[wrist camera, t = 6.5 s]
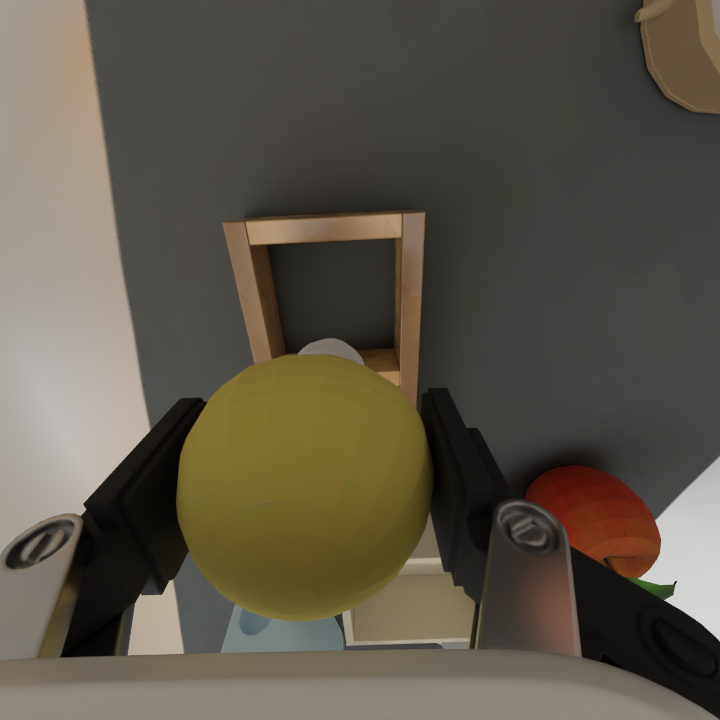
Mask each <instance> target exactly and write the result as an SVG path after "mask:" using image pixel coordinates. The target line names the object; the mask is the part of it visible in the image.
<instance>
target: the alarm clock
mask: <svg viewBox="0 0 720 720" xmlns="http://www.w3.org/2000/svg"><path fill="white" fill-rule="evenodd" d="M634 21H635V23H637V22H641V28H640V31H641V37H642V42H643V47H644V53H645V58H646V64H647V69H648V71H649V72H650V74H651V75H652V77H653V78H654V80H655V81H656V83H657V85H658V86H659V88H660V89H661V91H662V92H663V94H664V95H665V97H667V98H669V99H670V100H672V101H674V102H676V103H677V104H679V105H681V106H683V107H685V108H686V109H688V110H690V111H692V112H703V113H716V114H720V0H643V8H641V9H640V10H638V11H637V12H636V14H635V17H634Z"/></svg>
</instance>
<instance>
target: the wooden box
mask: <svg viewBox="0 0 720 720" xmlns="http://www.w3.org/2000/svg"><path fill="white" fill-rule="evenodd" d="M474 603H475V601H473V600H472V599H471V598H470V597H469V596H467V595H466V594H465V592H464V588H463V586H454V583H453V579H452V575H451V572H444V570H443V567H442V563H441V558H440V554H439V549H438V545H437V541H436V536H435V532H434V527H433V523H432V519H431V514H430V512H429V516H428V520H427V524H426V528H425V530H424V532H423V535H422V537H421V539H420V541H419V543H418V545H417V547H416V548H415V550H414V551H413V553H412V554H411V556H410V557H409V559H408V561H407V562H406V564H405V565H404V566H403V568H402V569H401V570H400V572H399V573H398V574H397V576H396V577H395V578H394V580H392V581H391V582H390V583H389V584H388V585H386V586H385V587H384V588H383V589H382V590H380V591H379V592H378V593H377V594H375V595H374V596H373V597H371V598H370V599H369V600H367V601H366V602H365V603H363V604H361V605H359V606H357V607H355V608H352V609H350V610H348V611H346V612H343V613H342V617H343V624H344V631H345V638H346V645H347V646H351V645H380V644H410V643H439V642H469V639H470V632H471V625H472V618H473V610H474Z"/></svg>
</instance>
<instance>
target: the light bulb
mask: <svg viewBox="0 0 720 720" xmlns="http://www.w3.org/2000/svg"><path fill="white" fill-rule="evenodd" d="M433 485H434V463H433V459H432V454H431V449H430V446H429V442H428V439H427V435H426V432H425V428H424V425H423V422H422V420H421V418H420V415H419V413H418V411H417V410H416V409H415V408H414V406H413V405H412V404H411V403H410V401H409V400H408V399H407V397H406V396H405V395H404V394H403V392H402V391H401V390H400V389H399V387H398V386H396V385H395V384H393V383H392V382H390V381H388V380H387V379H385V378H384V377H382V376H381V375H379V374H378V373H376V372H375V371H373V370H371V369H370V368H368V367H367V366H365V365H364V362H363V360H362V358H361V356H360V355H359V354H358V353H357V351H356V350H355V349H353V348H352V347H350V346H349V345H348V344H346V343H345V342H343V341H341V340H338V339H335V338H326V339H323V340H319V341H316V342H312V343H310V344H308V345H307V346H306V347H304V348H303V349H301V351H300V352H299V353H298V355H285V356H282V357H278V358H275V359H272V360H268V361H265V362H262V363H259V364H255V365H252V366H249V367H247V368H246V369H245V370H243V371H242V372H241V373H239V374H238V375H236V376H235V377H234V378H232V379H231V380H230V381H228V382H227V383H225V384H224V385H223V386H221V387H220V388H219V389H218V390H217V391H216V392H215V393H214V394H213V395H212V396H211V398H210V399H209V401H208V403H207V404H206V406H205V408H204V409H203V411H202V413H201V414H200V416H199V417H198V419H197V421H196V422H195V424H194V426H193V427H192V429H191V431H190V432H189V434H188V436H187V437H186V440H185V443H184V446H183V449H182V452H181V455H180V463H179V472H178V483H177V494H176V508H177V517H178V522H179V525H180V528H181V530H182V533H183V536H184V539H185V541H186V544H187V546H188V549H189V551H190V554H191V557H192V559H193V561H194V563H195V564H196V566H197V567H198V569H199V570H200V571H201V573H202V574H203V576H204V577H205V578H206V579H207V580H208V581H209V582H210V583H211V584H212V585H213V586H214V587H215V588H216V590H217V591H218V592H220V593H221V594H222V595H223V596H225V597H226V598H227V599H229V600H230V601H232V602H233V603H235V604H237V605H238V606H240V607H242V608H243V609H245V610H247V611H249V612H252V613H255V614H258V615H261V616H264V617H267V618H272V619H279V620H285V621H313V620H319V619H324V618H330V617H333V616H335V615H338V614H341V613H343V612H346V611H348V610H350V609H352V608H355V607H357V606H359V605H361V604H363V603H365V602H366V601H367V600H369V599H370V598H371V597H373V596H374V595H375V594H377V593H378V592H379V591H380V590H382V589H383V588H384V587H385V586H386V585H388V584H389V583H390V582H391V581H392V580H394V578H395V577H396V576H397V574H398V573H399V572H400V570H401V569H402V568H403V566H404V565H405V564H406V562H407V561H408V559H409V557H410V556H411V554H412V553H413V551H414V550H415V548H416V547H417V545H418V543H419V541H420V539H421V537H422V535H423V532H424V530H425V528H426V524H427V520H428V516H429V512H430V506H431V499H432V492H433Z"/></svg>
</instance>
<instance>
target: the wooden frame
mask: <svg viewBox="0 0 720 720" xmlns="http://www.w3.org/2000/svg"><path fill="white" fill-rule="evenodd" d="M425 217H426V213H425V212H423V211H419V210H415V209H408V210H396V211H394V210H389V211H370V212H350V213H331V214H311V215H291V216H272V217H252V218H241V219H236V220H231V221H227V222H223V228H224V232H225V237H226V241H227V245H228V250H229V254H230V258H231V263H232V267H233V271H234V276H235V280H236V284H237V289H238V293H239V297H240V302H241V306H242V310H243V315H244V319H245V323H246V328H247V332H248V336H249V341H250V345H251V349H252V354H253V358H254V362H255V364H259V363H262V362H265V361H268V360H272V359H275V358H278V357H282V356H285V355H298V353H286V351H285V345H284V339H283V334H282V328H281V322H280V317H279V311H278V305H277V299H276V294H275V288H274V282H273V277H272V271H271V265H270V259H269V254H268V248H267V244H285V243H305V242H325V241H345V240H365V239H385V238H395V342H394V348H390V349H368V350H356V351H357V353H358V354H359V355H360V356H361V358H362V360H363V362H364V365H365V366H367V367H368V368H370V369H371V370H373V371H375V372H376V373H378V374H379V375H381V376H382V377H384V378H385V379H387V380H388V381H390V382H392V383H393V384H395V385H396V386H398V387H399V389H400V390H401V391H402V392H403V394H404V395H405V396H406V397H407V399H408V400H409V401H410V403H411V404H412V405H413V406H414V408H415V409H416V406H417V385H418V364H419V343H420V322H421V301H422V280H423V259H424V238H425Z"/></svg>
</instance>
